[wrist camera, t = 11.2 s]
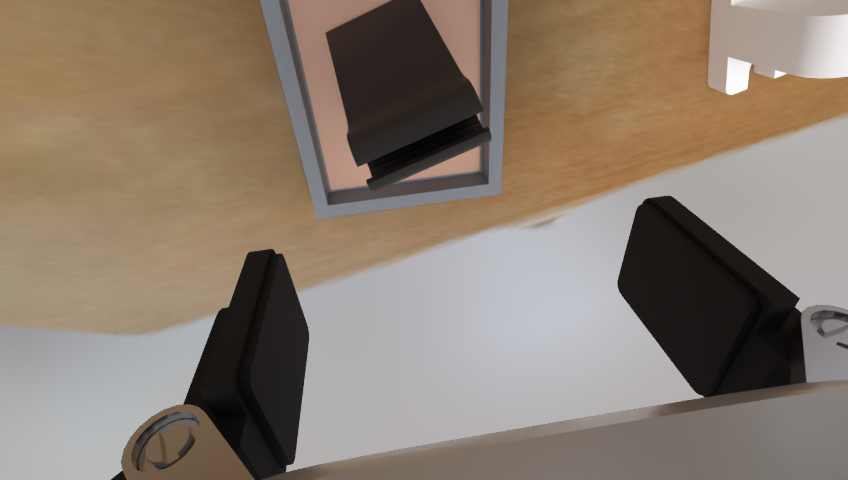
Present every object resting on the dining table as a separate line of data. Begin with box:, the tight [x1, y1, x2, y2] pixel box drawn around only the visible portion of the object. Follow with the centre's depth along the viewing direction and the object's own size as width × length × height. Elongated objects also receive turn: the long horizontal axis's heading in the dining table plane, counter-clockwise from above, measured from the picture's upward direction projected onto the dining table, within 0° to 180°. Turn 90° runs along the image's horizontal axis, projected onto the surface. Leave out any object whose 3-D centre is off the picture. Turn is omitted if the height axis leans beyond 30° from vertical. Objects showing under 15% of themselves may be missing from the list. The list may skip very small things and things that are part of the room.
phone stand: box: [326, 0, 492, 192], centre depth 23 cm, size 9×6×12 cm, turn 22°
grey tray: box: [260, 0, 509, 219], centre depth 28 cm, size 14×17×3 cm
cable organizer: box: [708, 0, 848, 95], centre depth 26 cm, size 5×10×10 cm, turn 20°
